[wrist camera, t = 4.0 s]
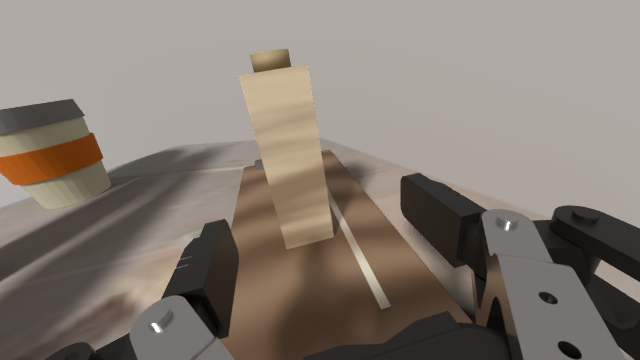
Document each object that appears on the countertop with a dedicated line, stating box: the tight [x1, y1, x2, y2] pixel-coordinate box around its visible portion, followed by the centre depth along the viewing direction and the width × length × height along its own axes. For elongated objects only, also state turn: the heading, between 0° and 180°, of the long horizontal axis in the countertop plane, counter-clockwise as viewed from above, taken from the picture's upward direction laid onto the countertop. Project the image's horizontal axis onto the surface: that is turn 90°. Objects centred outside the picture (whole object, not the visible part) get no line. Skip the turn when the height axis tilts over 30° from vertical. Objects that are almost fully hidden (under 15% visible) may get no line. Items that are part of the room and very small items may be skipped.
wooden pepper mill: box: [239, 49, 334, 249], centre depth 18 cm, size 4×4×14 cm
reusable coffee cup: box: [0, 99, 111, 210], centre depth 38 cm, size 13×13×15 cm
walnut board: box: [219, 150, 473, 360], centre depth 25 cm, size 30×14×2 cm, turn 12°
